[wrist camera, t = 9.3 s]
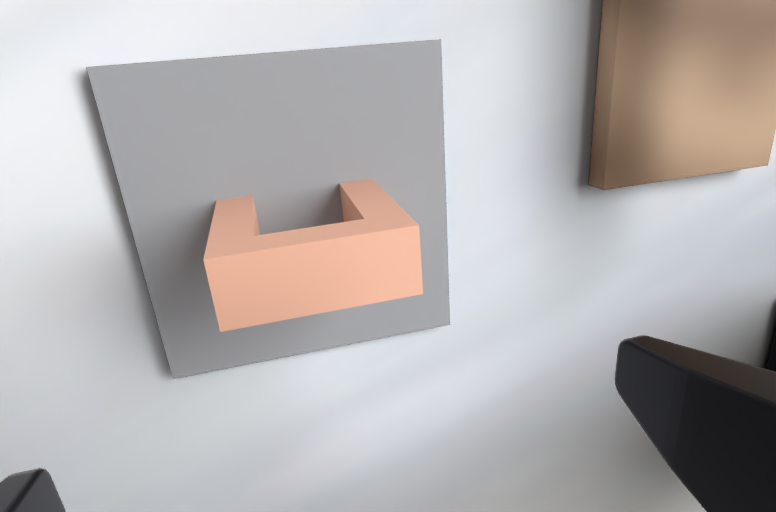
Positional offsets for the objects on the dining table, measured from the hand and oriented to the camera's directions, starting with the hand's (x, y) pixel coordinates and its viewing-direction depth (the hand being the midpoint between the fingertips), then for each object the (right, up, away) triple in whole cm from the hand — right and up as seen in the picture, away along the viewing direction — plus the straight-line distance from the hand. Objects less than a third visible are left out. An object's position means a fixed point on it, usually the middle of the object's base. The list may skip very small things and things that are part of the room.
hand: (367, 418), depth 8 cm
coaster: (-3, +4, +11) cm, 12 cm away
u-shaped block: (-3, +4, +10) cm, 11 cm away
